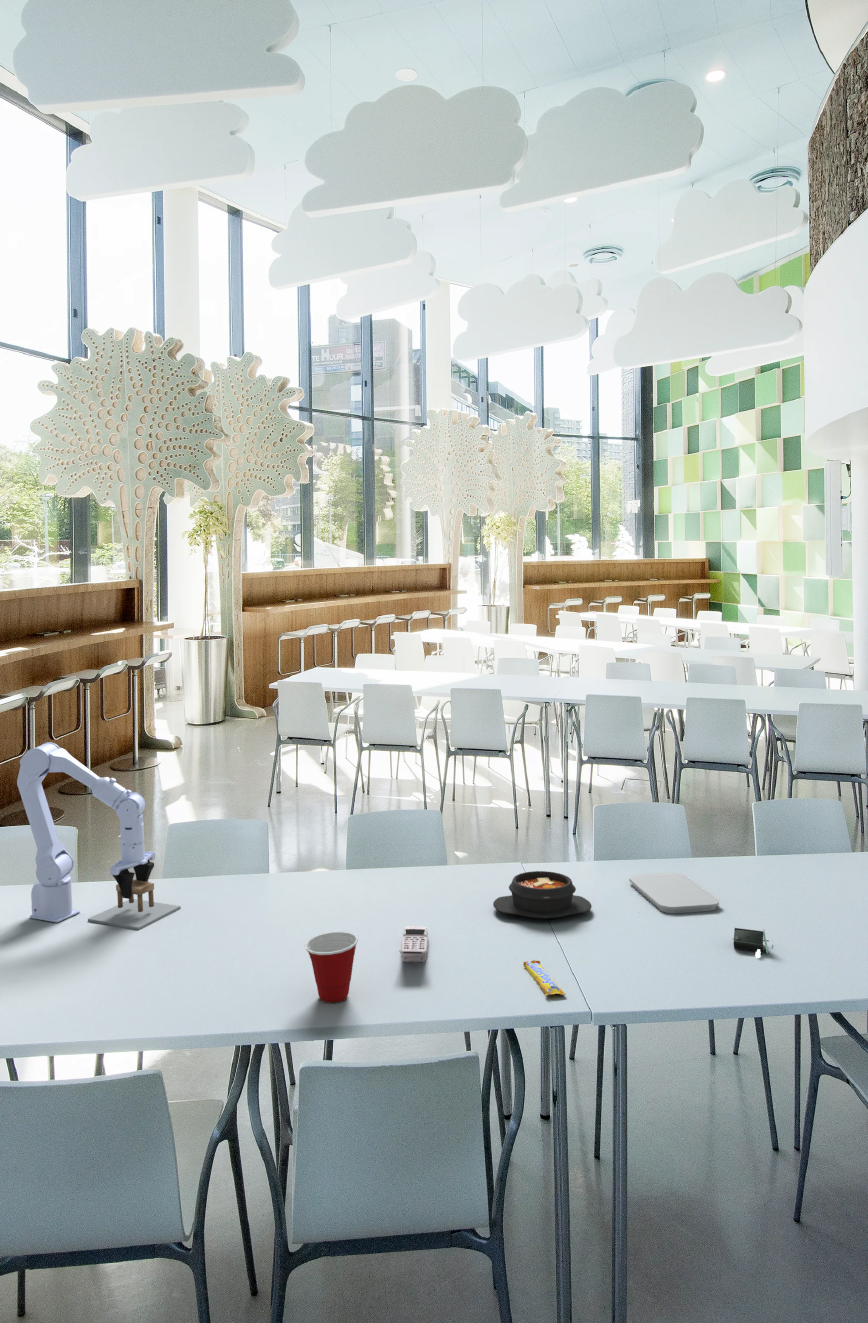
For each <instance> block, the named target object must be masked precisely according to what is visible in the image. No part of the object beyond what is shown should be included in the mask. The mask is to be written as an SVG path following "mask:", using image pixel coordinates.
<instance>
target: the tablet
mask: <svg viewBox="0 0 868 1323" xmlns="http://www.w3.org/2000/svg"><path fill="white" fill-rule="evenodd" d="M628 881H629V882H630V883H631V886H632V888H634V889H635V890H636V891H638V893H640V894H641V895H642V896H644V898H645V899H647V900H648V902H651V903H652V904H653V906H655V907H656V908H657V909H658V910H659V911H661V912H662V913H667V914H678V913H679V914H681V913H694V912H695V913H696V912H710V911H715V910H716V909H717V906H719V905H720V900H719V898H717V897H715V896H714V895H712V894H711V893H710V892H708V891H707V890H705V888H703V887H701V885H699V884H697V883H696V882H695V881H694V880H692V879H691V878H689V877H688V876H686V875H684V874H682V873H677V872H676V873H675V872H664V873H650V874H649V873H647V874H634V875H630V876H629V877H628Z"/></svg>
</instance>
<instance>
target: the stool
mask: <svg viewBox="0 0 868 1323" xmlns="http://www.w3.org/2000/svg"><path fill="white" fill-rule="evenodd" d="M154 890H155V883H154V882H151V881H150V882H149V881H148V882H146V881H140V880H136V878H135V879H134V878H133V881H132V892H131V898H130V899H128V900H129V903H134V899H135V898H134V895H136V898H137V900H138V912H142V911H143V900H144V898H143V895H144V894H146V893H147V894H148V901H149V907H153V906H154V902H155V901H154V898H155V897H154ZM115 891H116V894H117V905H118V908H122V907H123V902H124V901H123V899H124V898H123V897H122V893H121V890H120V887H119V885H118V883H116V884H115Z"/></svg>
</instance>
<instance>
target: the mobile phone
mask: <svg viewBox="0 0 868 1323" xmlns="http://www.w3.org/2000/svg"><path fill="white" fill-rule="evenodd" d="M428 935H429V932H428V927H427V926H408V925H406V926H404V928H403V933H402V939H401V949H399V950H398V951H399V954H400V955H401V961H402V962H406V963H409V962H411V961H412V962H411V963H415V962H416V963H417V962H418V963H419V962H420V963H422V962H421V961H424V962H426V958H427V953H428V946H429V936H428Z"/></svg>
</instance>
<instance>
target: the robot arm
mask: <svg viewBox="0 0 868 1323" xmlns="http://www.w3.org/2000/svg"><path fill="white" fill-rule="evenodd" d="M19 764H20V766H19V772H18V774H17V779H16V780H17V781H16V784H17V788H18V792H19V795H20V797H21V801H22V804H23V808H24V810H25V813H26V816H27V819H28V822H29V826H30V829H31V832H32V836H33V839H34V842H35V846H36V849H37V851H36V855H35V859H34V860H35V863H36V870H35V875H36V876H35V877H36V879H37V881H36V882H35V883H34V884H33V886H32V889H31V893H30V895H31V896H30V899H31V914H30V915H29V919H34V920H35V919H36V920H40V921H46V922H52V923H60V922H63V921H64V920H66V919H69V918H71V917H73V916H75V915H78V914H80V913H81V910H78V909H73V898H72V897H73V896H72V895H73V894H72V893H73V892H72V877H71V871H72V870H74V867H75V860H74V857H73V856H72V855H71V853H69V851H68V850H67V848H66V845H65V844H64V843H62V842H61V841H60V839H59V836H58V832H57V829H56V826H55V824H54V823H55V822H54V820H53V817H52V813H51V809H50V807H49V803H48V800H47V797H46V794H45V791H44V788H43V784H42V782H43V781H44V779H45V778H46V776H47V775H48V773H64V774H66V775H68V776H70V777H72V778H73V779H75V780H77V781H79V783H81V784H83V785H84V786H86V787H88V788H90V790H91V792H92V796H93V797H94V798H96V799H97V800H99V801H100V802H101V803H104V804H105V805H107V806H108V807H110V808H111V809H112V810H114V811H115V815H116V816H117V818H118V819H119V825H120V826H119V831H120V832H119V834H120V835H119V837H120V838H119V839H120V860H118V861H117V862H116V863H115V864H113V865H110V866H109V874H110V875H111V876H112V877H113V879H115V881H116V884H118V885H119V887H120V890H121V893H122V897H123V899H127V900H129V899H130V898H131V892H132V881H133V879H134V876H135V880H140V881H146V882H149V879H150V877H151V876H150V875H151V873H152V871H153V869H154V867H155V863H154V862H152V861H153V860H155V859H156V852H155V851H151V850H150V851H145V828H144V827H145V826H144V825H145V824H144V814H143V812H144V811H145V809H146V805H147V804H146V800H145V798H144V797H143V796H142V795H141V793H139V792H133V791H132V790H130V789H127V788H125V787H124V786H122V785H120V784H119V783H117V779H116V778H114V777H111V778H110V777H109V776H104V777H100V776H98V775H97V773H94V772H93V771H92V770H91V769H89V768H88V767H87V766H85V765H84V764H83V763H81V762H80V761H79V760H77V759H76V758H75V757H73V755H71V754H70V753H69V752H68V750H66V749H65V748H62V747H60V746H59V745H58V744H56V743H55V742H51V741H49V742H48V741H47V742H44V743H42V744H41V745H38V746H36V747H35V748H34V747H32V748H30V749H28V750H27V751H26V752H25V753H24V755H23V756H22V757H21V758H20V760H19ZM131 868H133V871H134V872H131V871H130V870H129V869H131Z"/></svg>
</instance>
